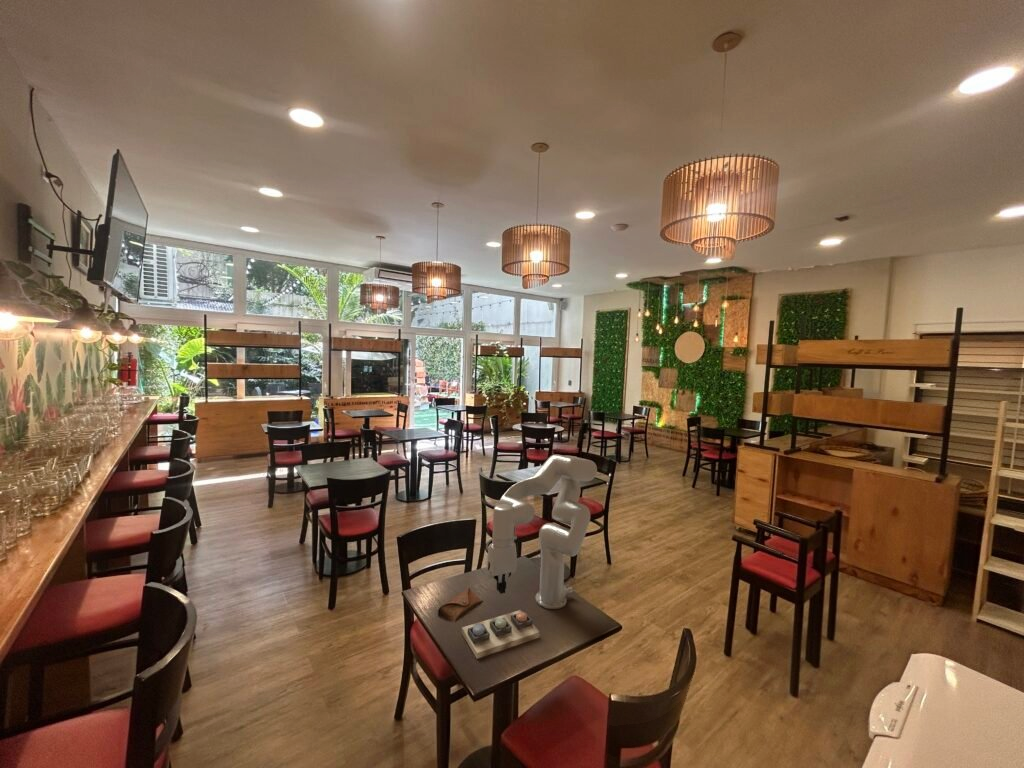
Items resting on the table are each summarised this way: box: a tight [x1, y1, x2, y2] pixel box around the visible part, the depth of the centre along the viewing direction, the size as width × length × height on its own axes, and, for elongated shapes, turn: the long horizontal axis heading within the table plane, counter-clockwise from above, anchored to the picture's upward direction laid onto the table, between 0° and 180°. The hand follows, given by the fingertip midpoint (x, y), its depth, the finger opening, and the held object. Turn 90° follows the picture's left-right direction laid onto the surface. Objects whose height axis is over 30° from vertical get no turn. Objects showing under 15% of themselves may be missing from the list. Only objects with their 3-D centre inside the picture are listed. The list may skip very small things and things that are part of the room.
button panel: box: [461, 609, 541, 659], centre depth 147 cm, size 24×14×4 cm, turn 118°
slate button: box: [473, 625, 485, 637], centre depth 143 cm, size 4×4×2 cm
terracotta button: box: [516, 611, 528, 623], centre depth 151 cm, size 4×4×2 cm
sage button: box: [495, 618, 506, 630], centre depth 147 cm, size 4×4×2 cm
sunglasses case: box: [437, 587, 484, 623], centre depth 163 cm, size 18×7×7 cm
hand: (501, 591), depth 146 cm, fingers closed
